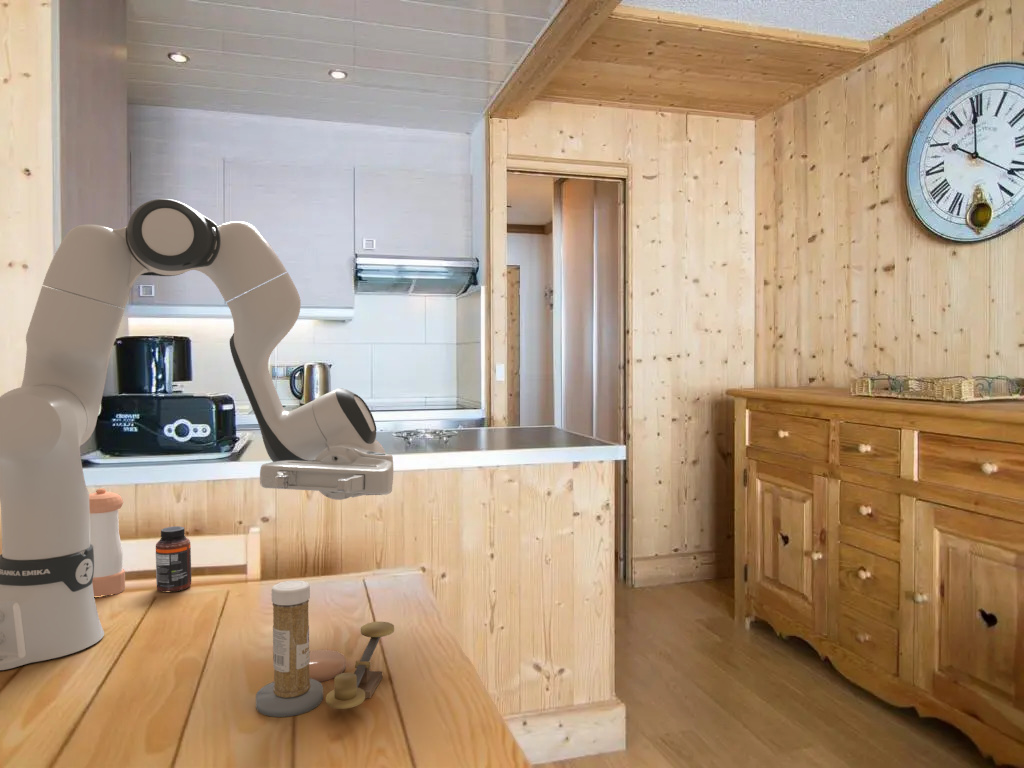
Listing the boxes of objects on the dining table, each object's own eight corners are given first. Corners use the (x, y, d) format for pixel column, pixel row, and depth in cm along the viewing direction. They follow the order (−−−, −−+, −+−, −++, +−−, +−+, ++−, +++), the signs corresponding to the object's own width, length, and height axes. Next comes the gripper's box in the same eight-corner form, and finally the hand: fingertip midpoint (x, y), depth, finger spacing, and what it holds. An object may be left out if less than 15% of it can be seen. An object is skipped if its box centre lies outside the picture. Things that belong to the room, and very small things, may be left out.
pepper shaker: (88, 586, 134) (87, 485, 134) (130, 584, 136) (129, 484, 135) (72, 599, 127) (71, 492, 126) (117, 596, 128) (115, 491, 128)
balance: (320, 723, 83) (320, 679, 83) (366, 656, 102) (366, 621, 102) (358, 724, 83) (358, 681, 83) (397, 657, 102) (397, 622, 102)
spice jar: (315, 693, 88) (314, 586, 88) (277, 702, 86) (276, 592, 86) (304, 679, 92) (303, 576, 92) (268, 688, 90) (267, 582, 89)
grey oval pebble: (244, 715, 85) (244, 705, 85) (272, 685, 93) (272, 676, 93) (309, 718, 85) (309, 708, 85) (331, 687, 93) (331, 678, 93)
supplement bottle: (178, 581, 137) (178, 523, 137) (198, 586, 134) (197, 527, 134) (149, 590, 132) (148, 529, 132) (169, 595, 129) (168, 533, 129)
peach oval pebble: (275, 682, 94) (275, 673, 94) (298, 657, 102) (298, 648, 102) (334, 684, 94) (334, 675, 94) (352, 658, 102) (352, 650, 101)
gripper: (280, 449, 117) (242, 459, 104) (402, 455, 116) (379, 466, 102) (279, 487, 118) (240, 502, 104) (400, 493, 116) (377, 510, 102)
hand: (310, 484), depth 103 cm, fingers open, 8 cm apart
